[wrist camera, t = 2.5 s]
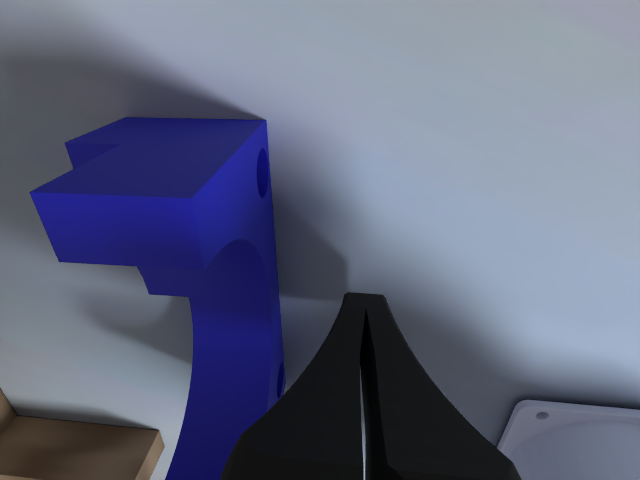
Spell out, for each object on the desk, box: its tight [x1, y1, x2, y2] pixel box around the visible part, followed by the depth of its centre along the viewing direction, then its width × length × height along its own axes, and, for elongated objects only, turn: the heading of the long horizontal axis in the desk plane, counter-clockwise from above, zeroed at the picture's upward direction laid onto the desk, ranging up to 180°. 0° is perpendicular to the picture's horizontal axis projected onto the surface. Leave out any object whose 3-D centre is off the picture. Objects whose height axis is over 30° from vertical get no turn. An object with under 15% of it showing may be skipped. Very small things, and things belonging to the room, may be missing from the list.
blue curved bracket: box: [30, 117, 286, 480], centre depth 12 cm, size 12×4×6 cm, turn 0°
